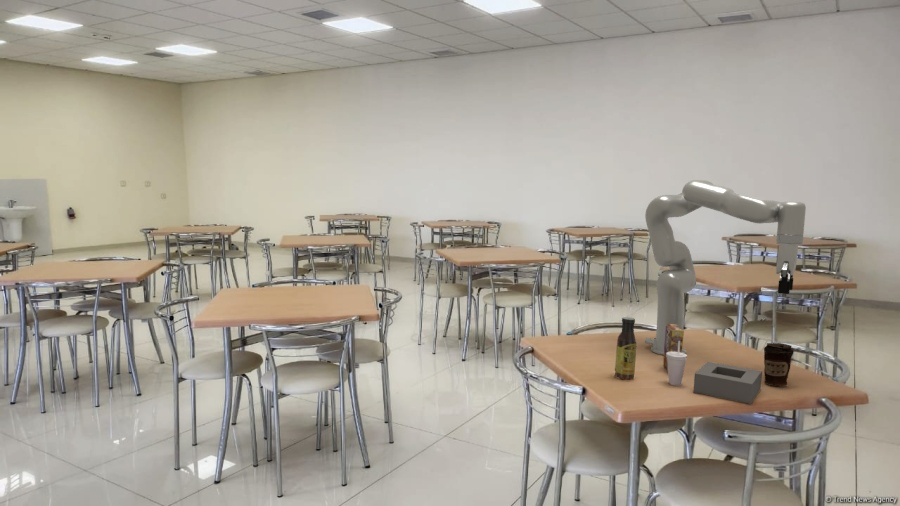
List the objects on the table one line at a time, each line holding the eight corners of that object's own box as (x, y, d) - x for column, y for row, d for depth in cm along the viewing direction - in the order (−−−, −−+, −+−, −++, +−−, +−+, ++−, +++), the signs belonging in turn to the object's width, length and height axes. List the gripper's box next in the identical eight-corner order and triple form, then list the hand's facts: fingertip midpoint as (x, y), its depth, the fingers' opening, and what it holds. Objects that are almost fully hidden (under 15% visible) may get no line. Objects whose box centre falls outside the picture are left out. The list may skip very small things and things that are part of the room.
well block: (693, 392, 183) (694, 373, 183) (706, 379, 196) (707, 361, 195) (750, 404, 174) (752, 384, 173) (760, 389, 187) (761, 370, 186)
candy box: (681, 374, 201) (684, 330, 199) (668, 373, 201) (670, 329, 200) (675, 366, 210) (677, 324, 208) (662, 366, 210) (665, 323, 208)
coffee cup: (790, 390, 186) (793, 349, 185) (760, 385, 190) (763, 345, 189) (791, 383, 193) (794, 343, 192) (762, 378, 198) (765, 340, 196)
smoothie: (687, 387, 188) (689, 344, 186) (665, 385, 189) (668, 342, 187) (683, 381, 194) (686, 339, 192) (662, 379, 195) (665, 337, 194)
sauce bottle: (624, 381, 193) (627, 321, 191) (610, 375, 198) (613, 317, 196) (639, 378, 196) (642, 319, 194) (625, 373, 201) (628, 315, 199)
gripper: (779, 237, 204) (775, 286, 206) (773, 240, 190) (768, 293, 192) (805, 238, 200) (800, 289, 202) (800, 242, 185) (795, 296, 187)
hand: (785, 291), depth 197 cm, fingers open, 9 cm apart
